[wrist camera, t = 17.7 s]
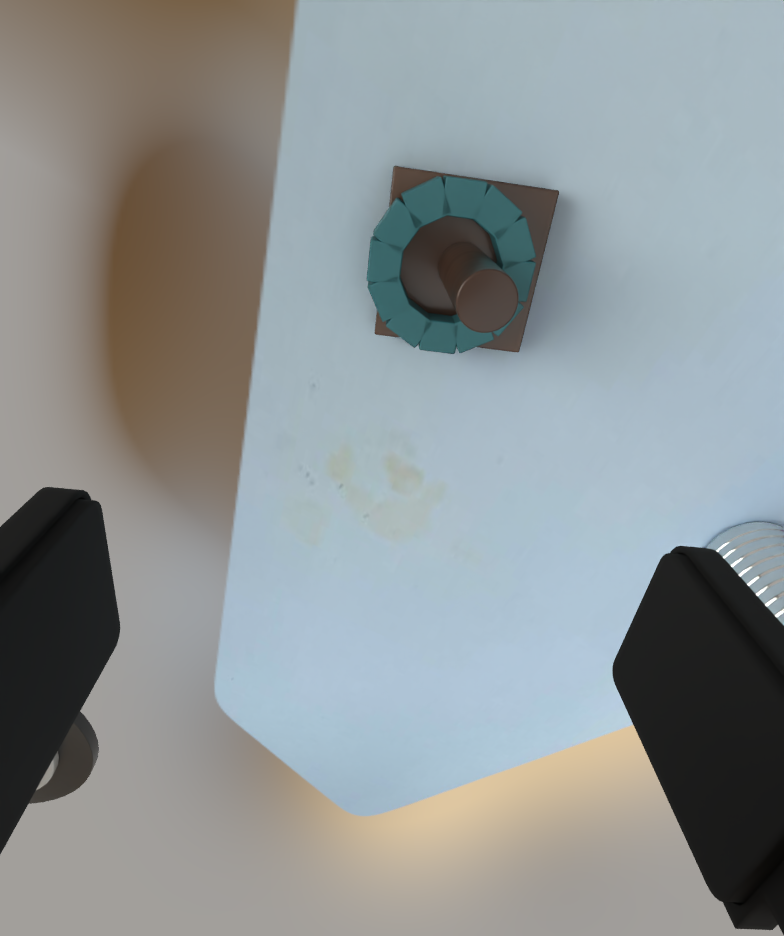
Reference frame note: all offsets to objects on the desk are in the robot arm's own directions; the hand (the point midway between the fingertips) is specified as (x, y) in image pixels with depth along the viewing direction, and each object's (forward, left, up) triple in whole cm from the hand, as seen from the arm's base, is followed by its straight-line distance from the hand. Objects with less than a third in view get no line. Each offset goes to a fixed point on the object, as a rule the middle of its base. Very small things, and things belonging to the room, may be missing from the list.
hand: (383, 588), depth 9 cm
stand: (+4, +2, -23) cm, 24 cm away
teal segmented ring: (+3, +2, -22) cm, 22 cm away
